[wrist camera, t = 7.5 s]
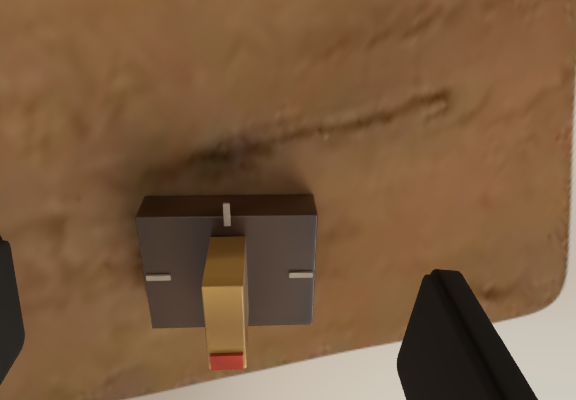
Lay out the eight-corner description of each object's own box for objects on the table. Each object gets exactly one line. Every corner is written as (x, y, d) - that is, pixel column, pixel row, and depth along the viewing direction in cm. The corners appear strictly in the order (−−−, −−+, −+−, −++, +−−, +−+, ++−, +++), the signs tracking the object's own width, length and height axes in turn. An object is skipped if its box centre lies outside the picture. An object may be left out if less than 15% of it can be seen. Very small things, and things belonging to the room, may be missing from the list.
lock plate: (314, 181, 28) (318, 202, 26) (308, 308, 33) (312, 336, 30) (142, 183, 28) (131, 205, 25) (161, 312, 32) (153, 341, 30)
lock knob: (209, 236, 27) (200, 290, 23) (245, 235, 27) (242, 289, 23) (215, 312, 29) (208, 373, 25) (248, 311, 29) (246, 372, 25)
